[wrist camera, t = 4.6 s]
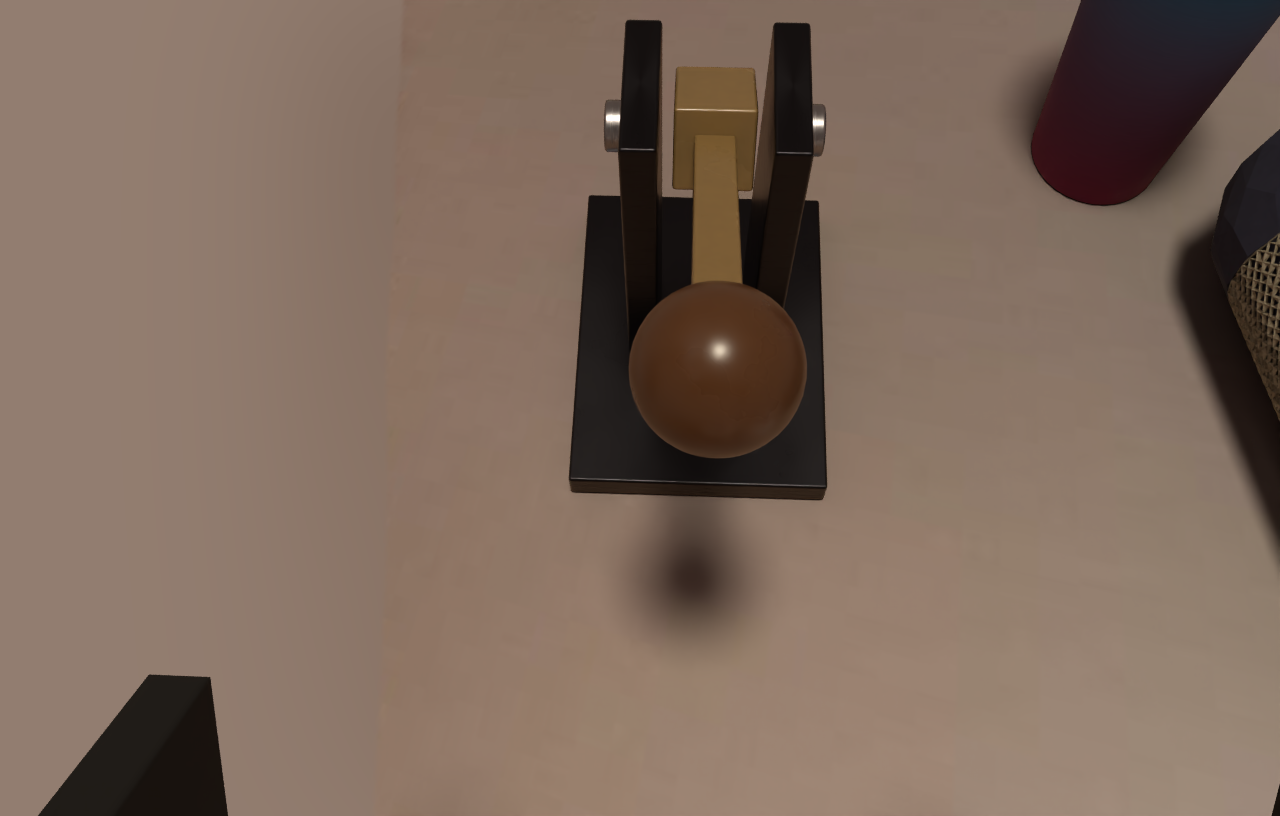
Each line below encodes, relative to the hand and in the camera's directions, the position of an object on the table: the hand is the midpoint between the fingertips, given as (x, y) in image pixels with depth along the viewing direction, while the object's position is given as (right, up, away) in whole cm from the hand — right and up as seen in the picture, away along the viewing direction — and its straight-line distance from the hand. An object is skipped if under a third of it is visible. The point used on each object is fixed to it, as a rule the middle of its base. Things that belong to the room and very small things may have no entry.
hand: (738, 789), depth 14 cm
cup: (+17, +15, +33) cm, 40 cm away
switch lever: (+1, +7, +14) cm, 16 cm away
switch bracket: (+1, +7, +30) cm, 30 cm away
